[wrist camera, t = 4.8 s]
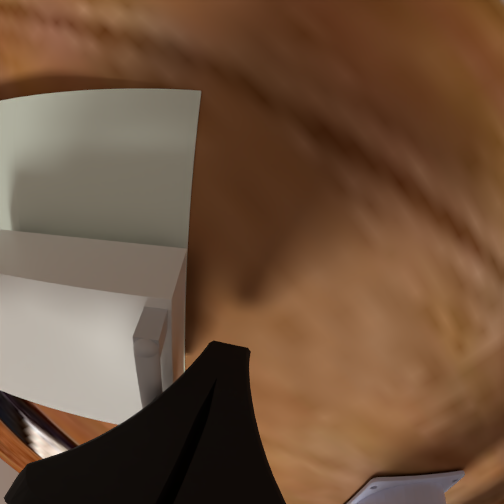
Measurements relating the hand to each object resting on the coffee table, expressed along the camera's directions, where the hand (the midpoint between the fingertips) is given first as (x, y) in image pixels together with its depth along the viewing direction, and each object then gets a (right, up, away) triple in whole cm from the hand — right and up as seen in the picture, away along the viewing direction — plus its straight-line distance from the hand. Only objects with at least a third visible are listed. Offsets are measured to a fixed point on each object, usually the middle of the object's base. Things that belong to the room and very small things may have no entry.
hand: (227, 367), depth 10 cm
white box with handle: (-6, +2, +2) cm, 6 cm away
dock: (-10, +4, +5) cm, 12 cm away
